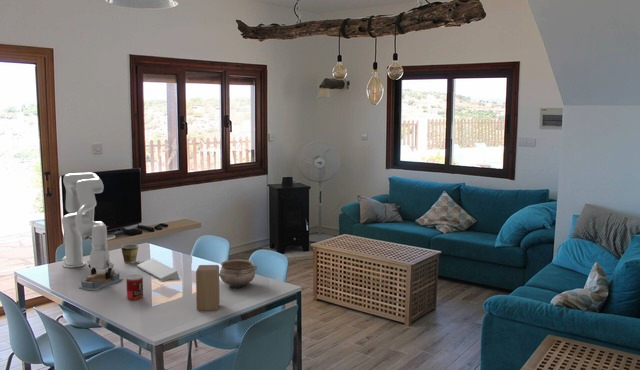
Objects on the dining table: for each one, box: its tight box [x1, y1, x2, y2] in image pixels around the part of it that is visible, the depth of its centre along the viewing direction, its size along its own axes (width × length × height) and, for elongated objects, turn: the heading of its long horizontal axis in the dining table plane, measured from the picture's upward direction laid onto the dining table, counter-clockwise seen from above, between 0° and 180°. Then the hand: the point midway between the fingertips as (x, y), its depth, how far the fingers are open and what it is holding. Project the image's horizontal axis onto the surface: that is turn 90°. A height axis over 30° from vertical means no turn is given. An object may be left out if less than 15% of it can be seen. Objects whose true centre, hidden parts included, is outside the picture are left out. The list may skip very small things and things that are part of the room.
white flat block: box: [136, 257, 180, 282], centre depth 326 cm, size 34×5×10 cm
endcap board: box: [78, 271, 123, 291], centre depth 303 cm, size 10×21×4 cm, turn 158°
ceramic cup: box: [120, 244, 139, 264], centre depth 347 cm, size 13×10×10 cm
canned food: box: [126, 274, 144, 301], centre depth 281 cm, size 8×8×11 cm
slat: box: [86, 269, 115, 284], centre depth 303 cm, size 4×16×5 cm, turn 158°
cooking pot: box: [219, 258, 258, 288], centre depth 303 cm, size 25×19×12 cm
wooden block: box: [195, 264, 220, 312], centre depth 268 cm, size 10×10×20 cm
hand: (100, 277), depth 303 cm, fingers open, 9 cm apart
